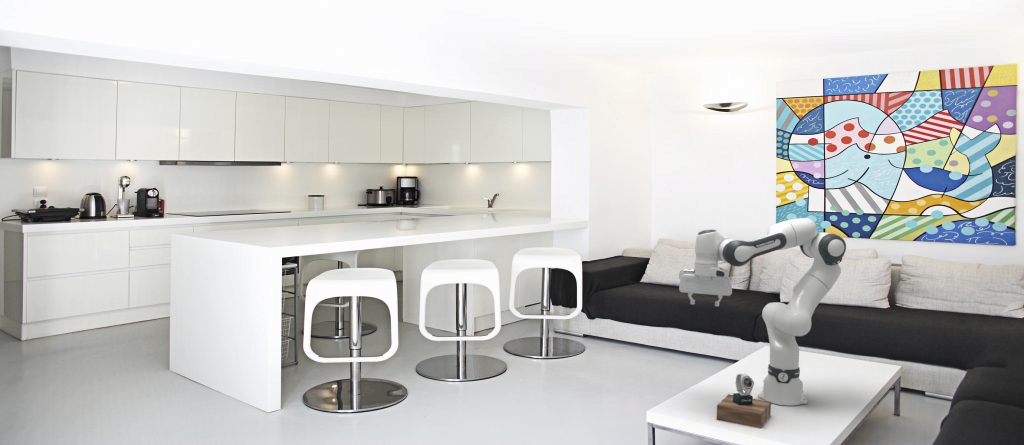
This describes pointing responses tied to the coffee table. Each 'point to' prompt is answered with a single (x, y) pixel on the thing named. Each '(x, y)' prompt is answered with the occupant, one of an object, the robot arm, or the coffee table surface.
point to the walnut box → (744, 412)
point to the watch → (742, 384)
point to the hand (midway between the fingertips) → (704, 305)
